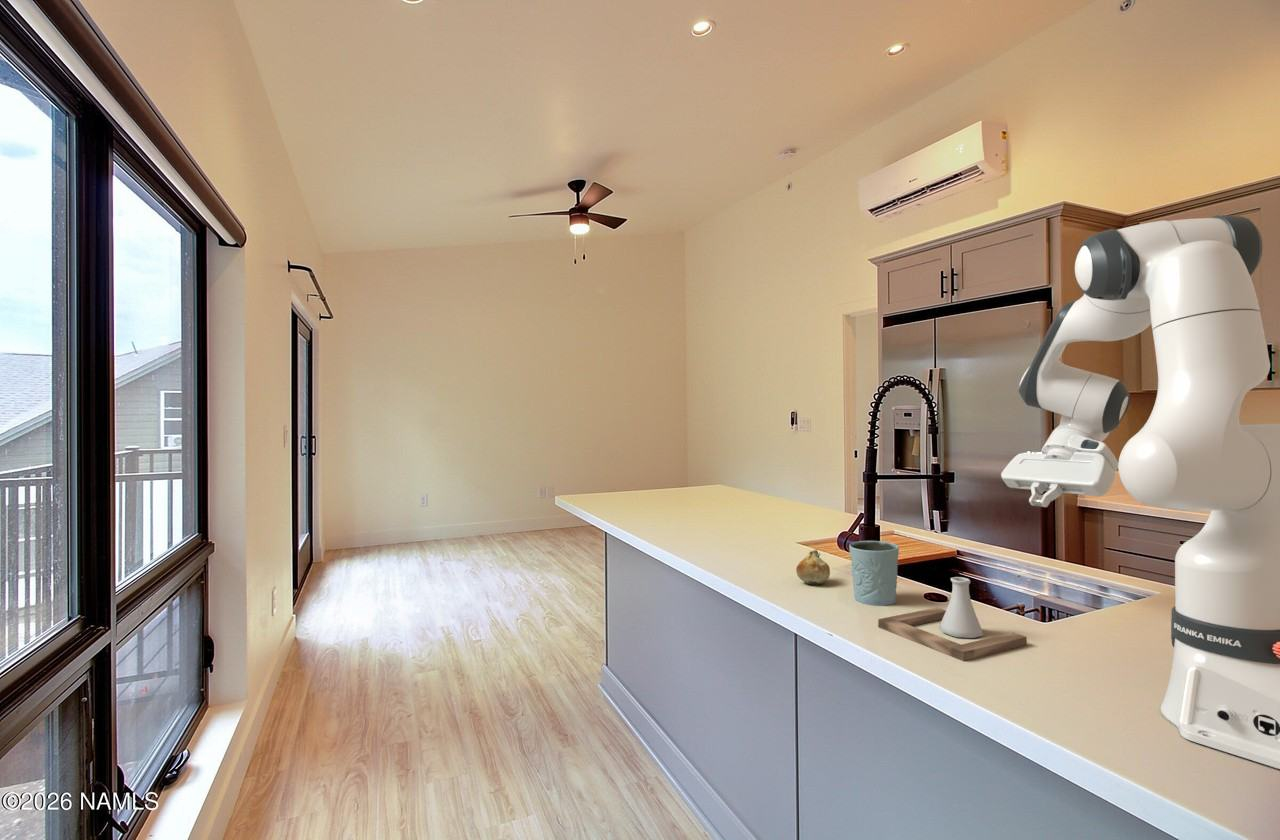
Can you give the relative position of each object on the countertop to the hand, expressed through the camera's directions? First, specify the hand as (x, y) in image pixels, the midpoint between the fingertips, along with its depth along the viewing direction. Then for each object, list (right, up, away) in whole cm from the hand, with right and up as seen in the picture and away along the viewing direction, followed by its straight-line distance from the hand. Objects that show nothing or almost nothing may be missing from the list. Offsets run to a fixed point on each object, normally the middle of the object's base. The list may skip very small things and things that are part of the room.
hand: (1037, 504), depth 129 cm
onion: (-37, -23, +27) cm, 51 cm away
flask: (-19, -23, -8) cm, 31 cm away
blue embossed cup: (-28, -23, +13) cm, 38 cm away
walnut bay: (-22, -23, -10) cm, 33 cm away
